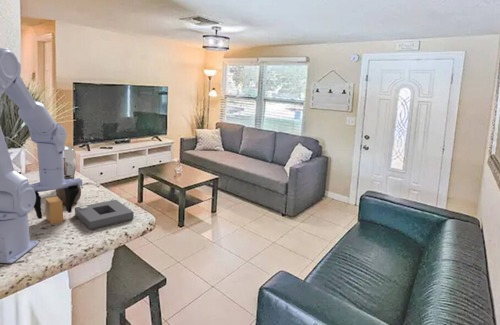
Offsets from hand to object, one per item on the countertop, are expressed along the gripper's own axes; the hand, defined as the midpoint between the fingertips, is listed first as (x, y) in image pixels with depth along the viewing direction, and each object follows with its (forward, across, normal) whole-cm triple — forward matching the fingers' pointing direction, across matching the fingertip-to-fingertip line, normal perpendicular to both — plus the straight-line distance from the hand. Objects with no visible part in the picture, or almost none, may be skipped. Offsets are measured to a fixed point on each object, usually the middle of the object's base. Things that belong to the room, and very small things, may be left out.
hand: (54, 214), depth 91 cm
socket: (+2, -11, +6) cm, 13 cm away
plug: (+2, 0, 0) cm, 2 cm away
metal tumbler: (+2, -10, -24) cm, 26 cm away
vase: (+2, -7, -11) cm, 13 cm away
